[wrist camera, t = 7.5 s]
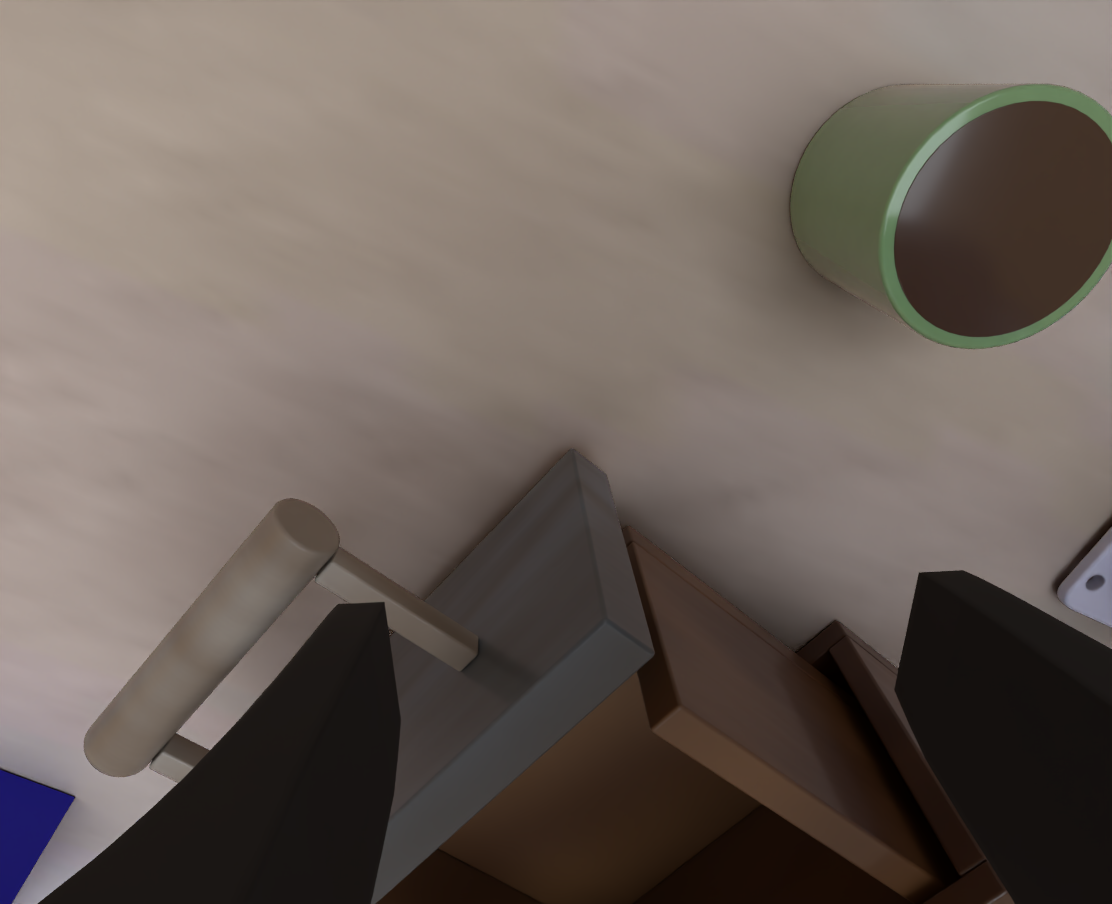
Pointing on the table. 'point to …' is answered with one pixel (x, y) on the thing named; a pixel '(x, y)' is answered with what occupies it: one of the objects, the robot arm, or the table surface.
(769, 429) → the table surface
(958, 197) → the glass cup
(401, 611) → the drawer
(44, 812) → the blue cradle bracket
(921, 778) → the cabinet
